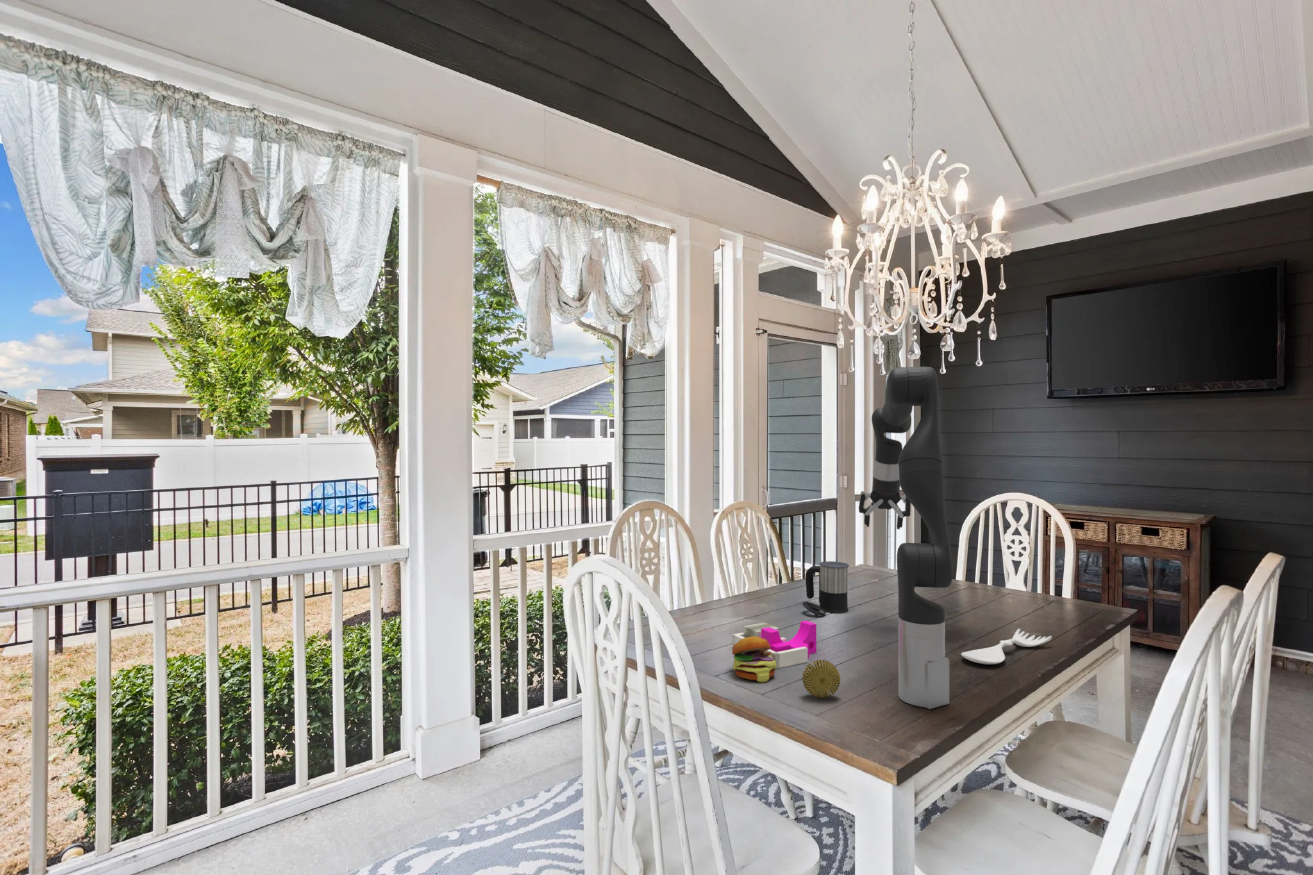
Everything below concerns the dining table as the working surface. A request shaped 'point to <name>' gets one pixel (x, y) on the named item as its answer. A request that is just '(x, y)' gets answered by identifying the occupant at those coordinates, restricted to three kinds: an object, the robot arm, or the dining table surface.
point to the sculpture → (821, 679)
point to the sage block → (756, 629)
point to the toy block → (801, 639)
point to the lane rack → (782, 654)
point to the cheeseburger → (753, 659)
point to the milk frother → (828, 588)
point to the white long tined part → (996, 652)
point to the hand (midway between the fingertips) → (882, 527)
